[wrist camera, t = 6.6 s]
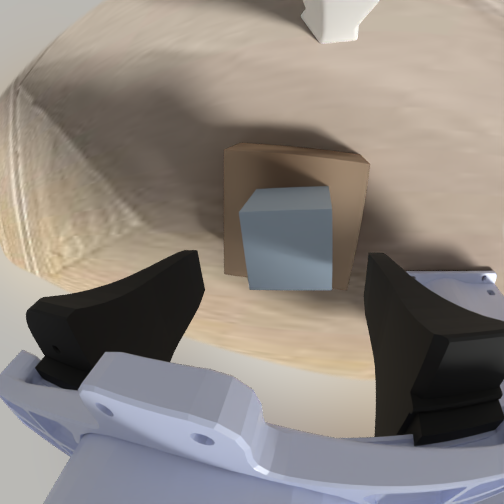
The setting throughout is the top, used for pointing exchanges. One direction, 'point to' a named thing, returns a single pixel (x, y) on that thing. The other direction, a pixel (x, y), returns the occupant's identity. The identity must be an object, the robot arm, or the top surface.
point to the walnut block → (295, 175)
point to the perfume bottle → (336, 18)
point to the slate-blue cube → (288, 238)
